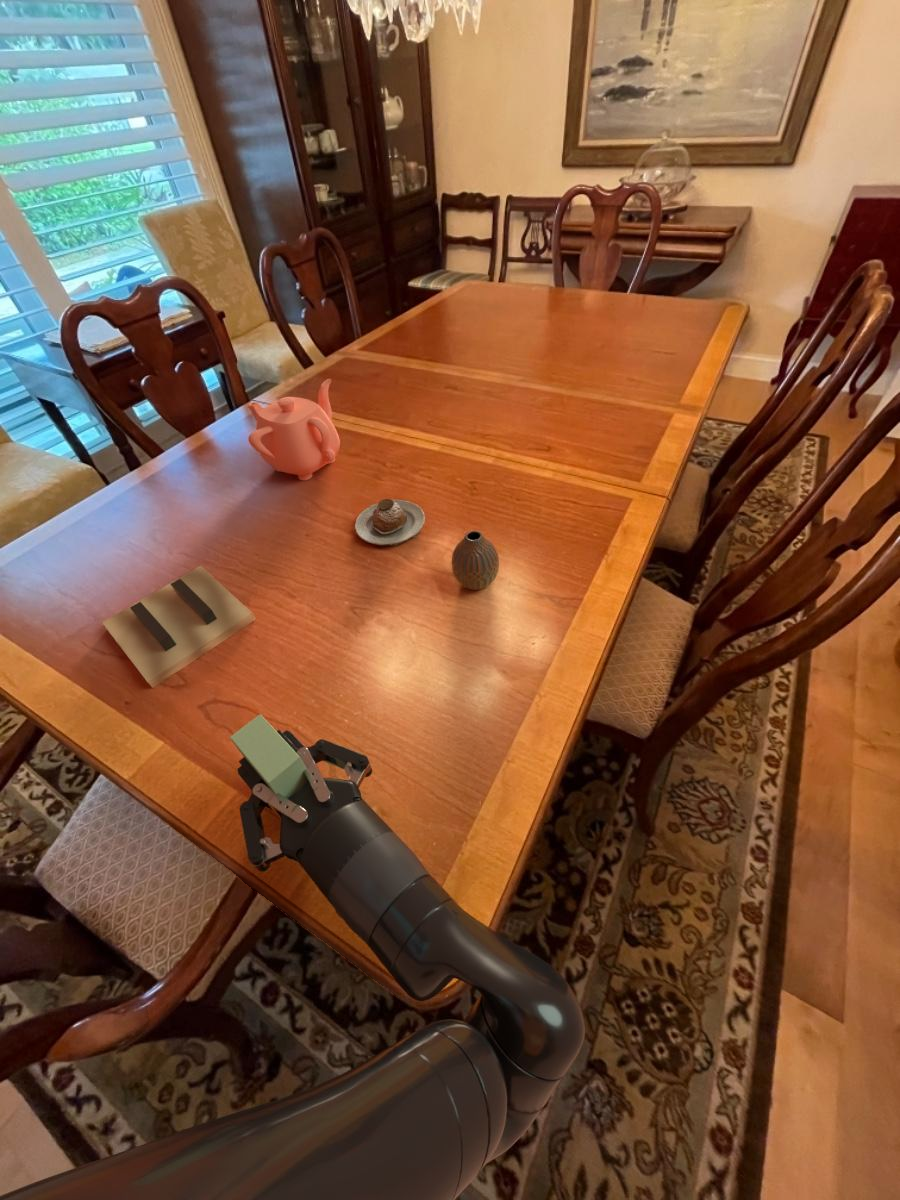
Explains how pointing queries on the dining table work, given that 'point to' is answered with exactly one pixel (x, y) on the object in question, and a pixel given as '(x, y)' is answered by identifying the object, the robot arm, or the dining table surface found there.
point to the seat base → (177, 624)
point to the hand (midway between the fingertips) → (261, 749)
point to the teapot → (296, 434)
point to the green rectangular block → (271, 757)
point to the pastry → (390, 522)
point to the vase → (475, 561)
